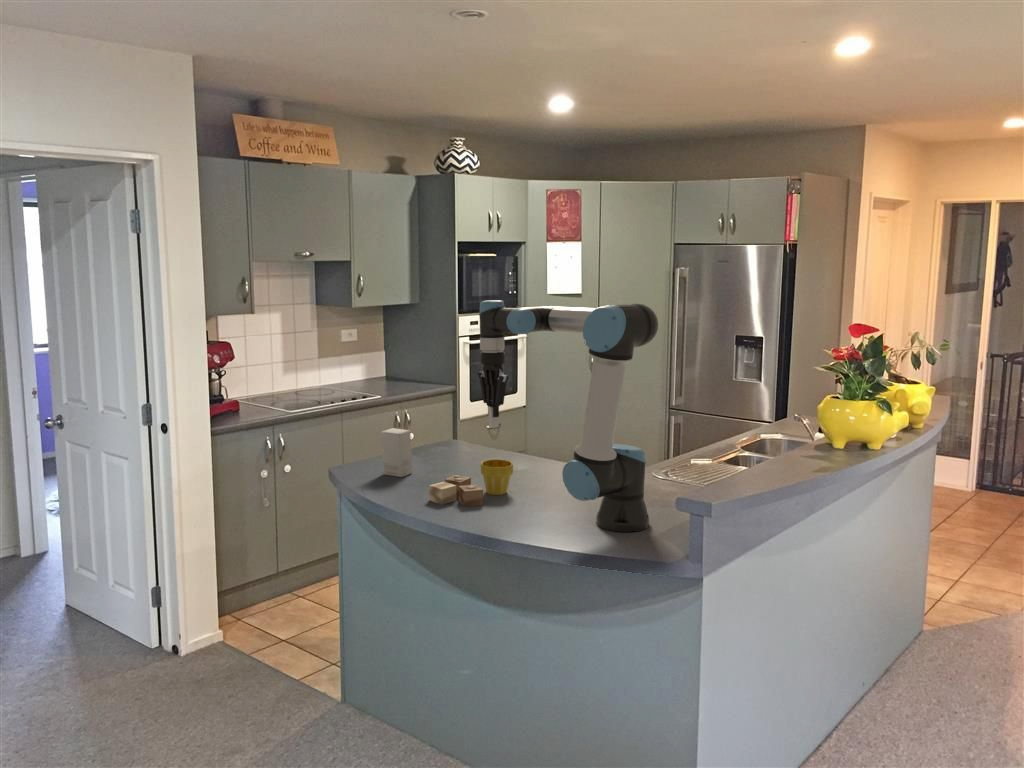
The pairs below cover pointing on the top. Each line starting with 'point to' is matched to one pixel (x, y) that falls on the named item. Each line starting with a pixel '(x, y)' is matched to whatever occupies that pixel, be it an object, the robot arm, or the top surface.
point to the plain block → (442, 492)
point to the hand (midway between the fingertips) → (493, 426)
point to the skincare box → (396, 452)
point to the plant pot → (496, 475)
